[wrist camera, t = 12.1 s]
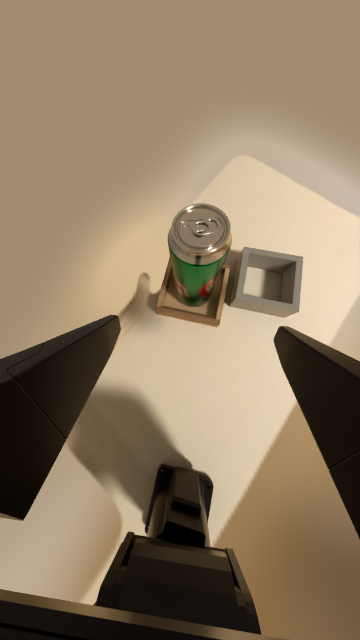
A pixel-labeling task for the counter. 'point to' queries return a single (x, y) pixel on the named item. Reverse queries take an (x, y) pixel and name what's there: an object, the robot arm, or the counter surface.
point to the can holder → (273, 262)
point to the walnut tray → (202, 314)
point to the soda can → (198, 251)
